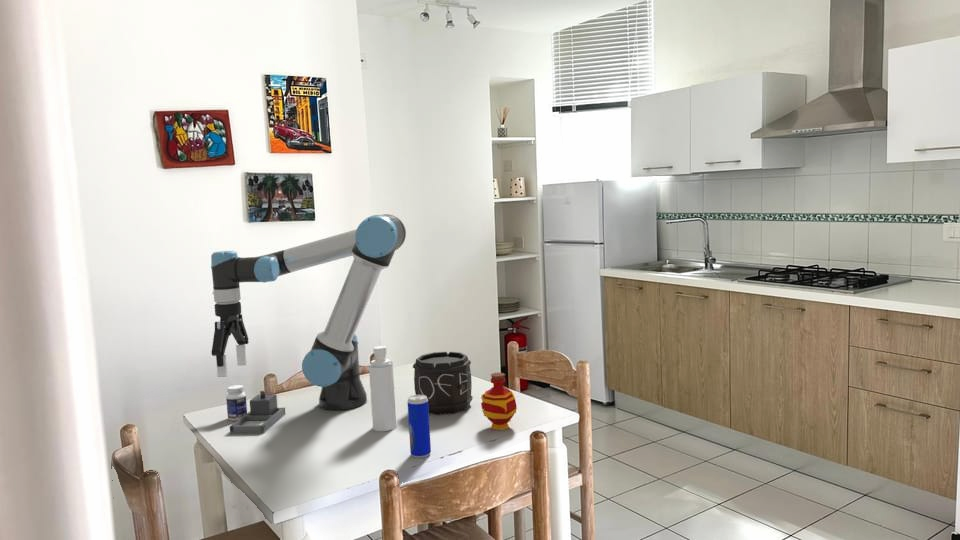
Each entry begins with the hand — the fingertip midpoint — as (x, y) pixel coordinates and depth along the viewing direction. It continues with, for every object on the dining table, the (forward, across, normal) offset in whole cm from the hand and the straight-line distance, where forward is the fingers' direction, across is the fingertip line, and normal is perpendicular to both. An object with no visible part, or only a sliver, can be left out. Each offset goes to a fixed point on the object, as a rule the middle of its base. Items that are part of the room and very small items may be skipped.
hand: (232, 370), depth 210 cm
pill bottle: (+15, 0, 0) cm, 15 cm away
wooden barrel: (+14, -7, +64) cm, 66 cm away
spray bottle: (+14, +11, +49) cm, 52 cm away
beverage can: (+14, +32, +63) cm, 72 cm away
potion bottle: (+14, +12, +82) cm, 84 cm away
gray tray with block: (+15, +6, +10) cm, 18 cm away
